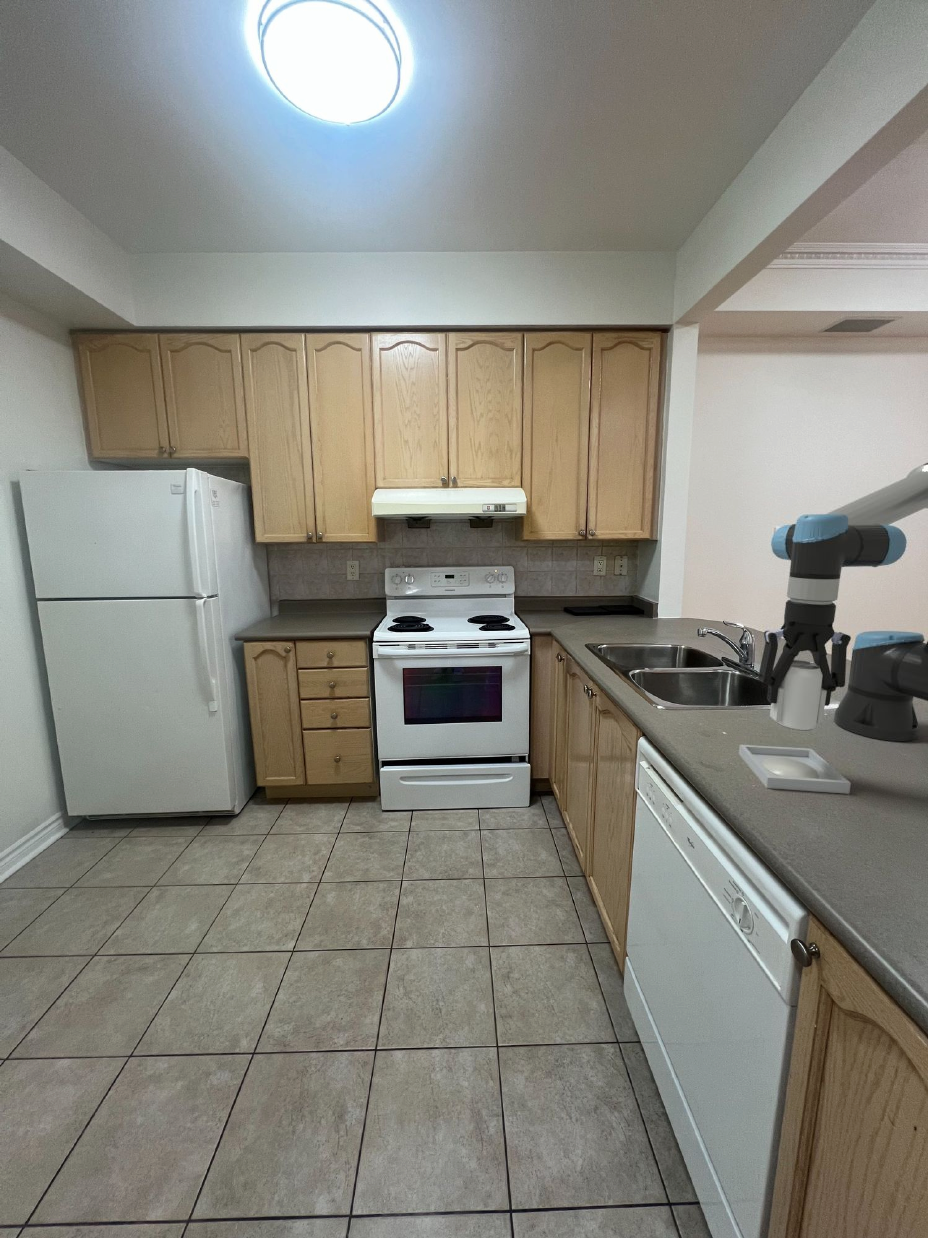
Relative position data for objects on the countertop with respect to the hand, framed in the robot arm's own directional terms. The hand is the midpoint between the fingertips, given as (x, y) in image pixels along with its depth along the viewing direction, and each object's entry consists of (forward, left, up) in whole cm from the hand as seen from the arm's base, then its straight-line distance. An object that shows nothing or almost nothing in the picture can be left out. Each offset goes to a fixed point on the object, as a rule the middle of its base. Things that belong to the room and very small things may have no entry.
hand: (795, 719), depth 93 cm
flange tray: (0, 0, -11) cm, 11 cm away
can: (0, 0, -1) cm, 1 cm away
